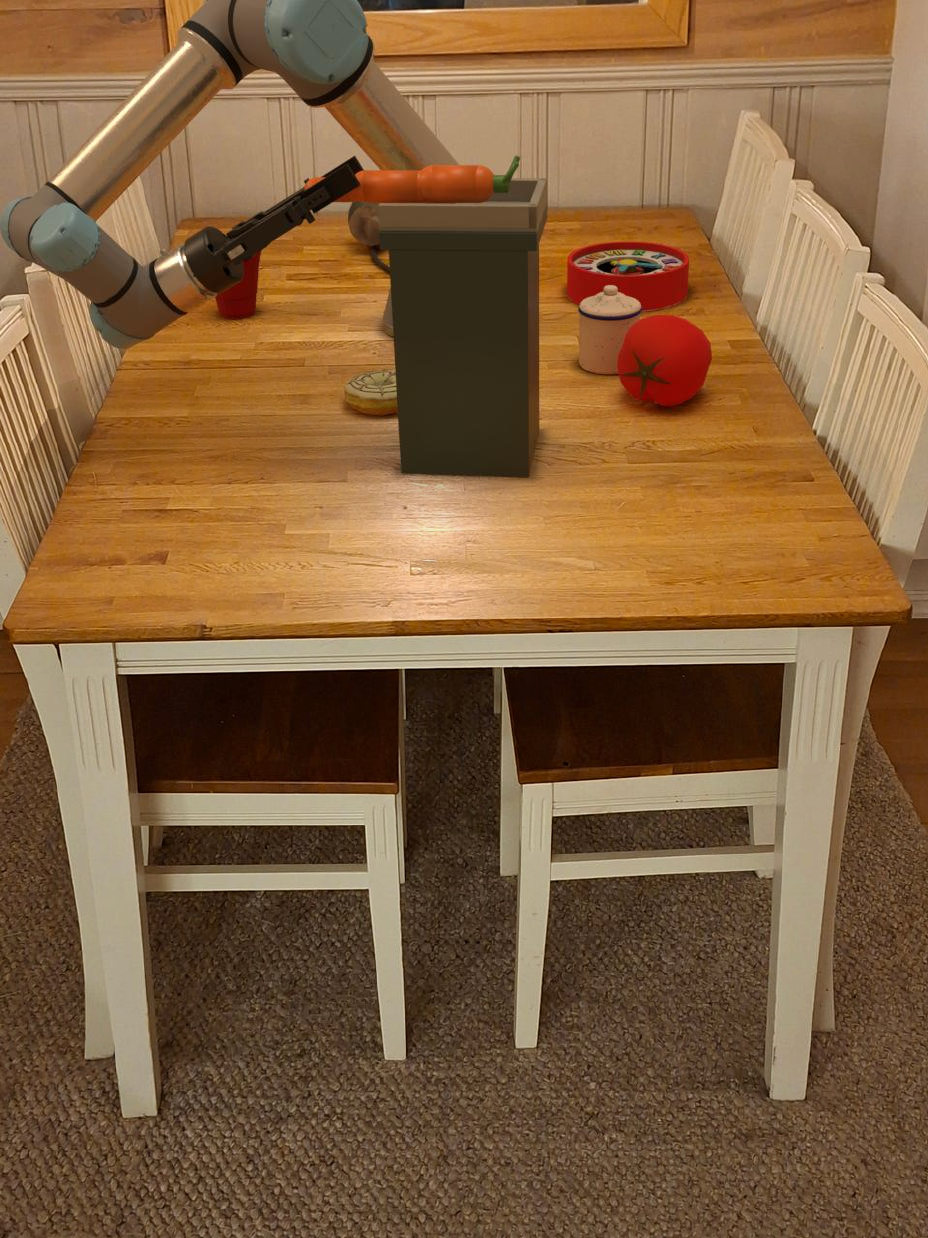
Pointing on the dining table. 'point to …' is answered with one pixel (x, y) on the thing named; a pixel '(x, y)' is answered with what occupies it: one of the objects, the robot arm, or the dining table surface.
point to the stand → (467, 330)
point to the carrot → (428, 185)
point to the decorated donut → (373, 392)
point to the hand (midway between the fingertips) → (356, 170)
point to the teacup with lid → (605, 328)
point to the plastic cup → (241, 293)
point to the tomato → (664, 360)
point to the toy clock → (630, 272)
